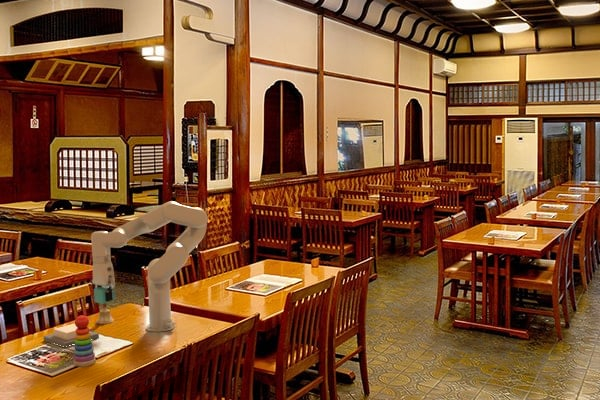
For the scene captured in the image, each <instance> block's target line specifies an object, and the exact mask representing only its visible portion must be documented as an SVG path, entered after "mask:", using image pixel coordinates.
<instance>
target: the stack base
mask: <svg viewBox="0 0 600 400" xmlns="http://www.w3.org/2000/svg"><path fill="white" fill-rule="evenodd" d="M76 329H77V327H76V325H75V322H74V323H71V324H68V325H64V326H60V327H57V328H56V327H55V328H53V333H50V334H48V335H44V336H43V341H44V342H46V343H48V344H51V343H55V344H58V345H61V346H64V347H66V346H69V345H72V344H75V340H76V338H75V336H76V332H75V330H76ZM89 333H90V334H91V337H90V338H91V339H94V340H96V339H95V338H98V339H99V338H100V334H99V333H98V332H96V331H95V332H94V331H91V330H90V331H89Z"/></svg>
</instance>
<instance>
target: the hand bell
mask: <svg viewBox="0 0 600 400" xmlns="http://www.w3.org/2000/svg"><path fill="white" fill-rule="evenodd" d="M107 307H108V305H107V303H104V304H102V309H100V310H99V316H98V318H97V319H96V320H95V323H96V324H99V325H106V324H107V323H108V324H111V323H114V322H115V319H114V318H113V317H112V314H111V310H110V309H109V308H107Z"/></svg>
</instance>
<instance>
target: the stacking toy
mask: <svg viewBox="0 0 600 400" xmlns="http://www.w3.org/2000/svg"><path fill="white" fill-rule="evenodd" d="M74 323H75V325H76V327H77V329H76V330H75V332H76V336H75V338H76V340H75V345H74V350H73V354H74V356H73V358H74V359H73V362H72V363H73V365H74V366H75V367H88V366H91V365H93V364H95V363H96V361H97V360H96V357H95V356H96V355H95V352H94V347H93V342H92V340H91V338H90V337H91V334H90V333H89V331H91V330H90V327H89V325H90V319H89V317H88V316H86V315H79V316H77V317H76V318H75V320H74Z"/></svg>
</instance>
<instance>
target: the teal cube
mask: <svg viewBox="0 0 600 400" xmlns="http://www.w3.org/2000/svg"><path fill="white" fill-rule="evenodd" d="M108 288H109V286H108ZM114 288H115V287H114ZM114 288H113V291H112V297H113V300H111V301H106V297H105V292H106V290H105V286H102V287H99V288H95V287H94V288H93V298H94V299H93V301H94V303H97V304H102V305H103V304H104V303H106V304H107V303H111V302H114V301H115V289H114Z"/></svg>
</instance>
